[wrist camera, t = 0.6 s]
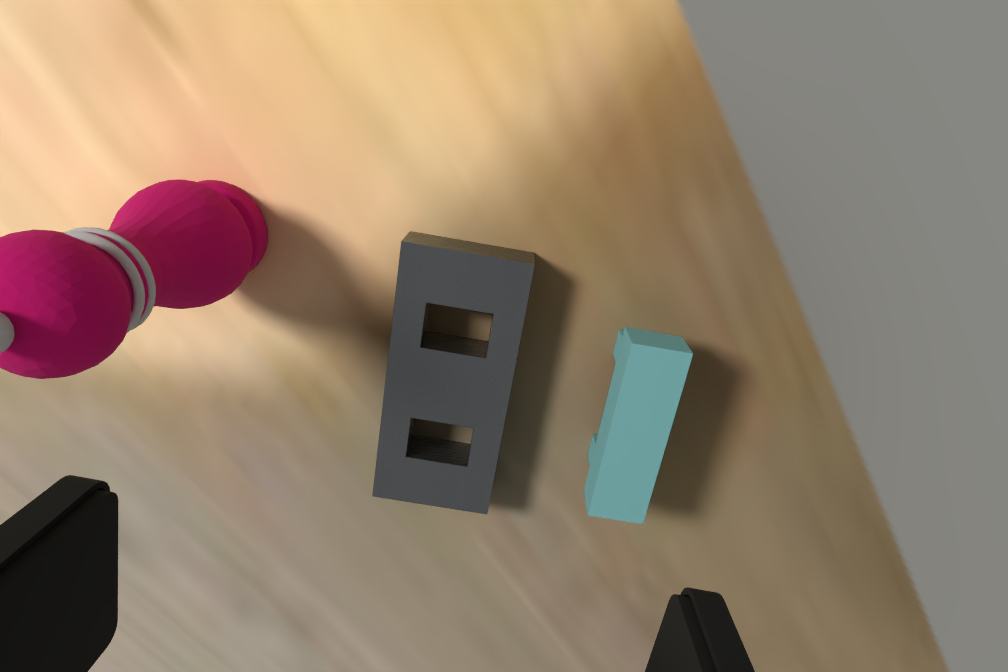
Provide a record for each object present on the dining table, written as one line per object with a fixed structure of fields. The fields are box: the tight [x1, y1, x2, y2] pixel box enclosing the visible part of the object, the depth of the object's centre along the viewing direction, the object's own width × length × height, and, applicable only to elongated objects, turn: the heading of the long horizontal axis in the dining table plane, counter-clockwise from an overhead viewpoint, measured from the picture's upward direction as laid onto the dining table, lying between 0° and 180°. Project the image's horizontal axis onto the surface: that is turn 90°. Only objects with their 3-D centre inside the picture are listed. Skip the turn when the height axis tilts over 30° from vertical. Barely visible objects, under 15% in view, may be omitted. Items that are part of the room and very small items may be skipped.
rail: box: [372, 231, 535, 514], centre depth 42 cm, size 18×8×3 cm, turn 170°
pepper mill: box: [0, 180, 268, 379], centre depth 31 cm, size 7×7×20 cm
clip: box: [584, 327, 693, 524], centre depth 42 cm, size 12×4×6 cm, turn 170°
